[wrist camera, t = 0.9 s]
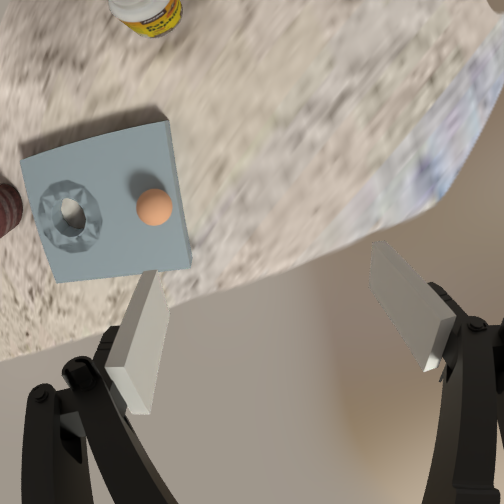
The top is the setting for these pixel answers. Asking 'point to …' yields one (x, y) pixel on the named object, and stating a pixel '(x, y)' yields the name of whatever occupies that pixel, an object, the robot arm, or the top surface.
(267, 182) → the top surface
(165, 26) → the supplement bottle
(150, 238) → the board
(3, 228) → the can
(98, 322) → the top surface
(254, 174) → the top surface
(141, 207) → the ball
